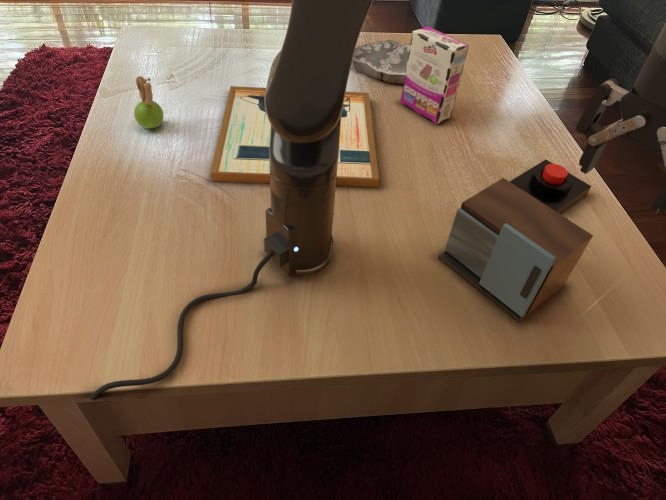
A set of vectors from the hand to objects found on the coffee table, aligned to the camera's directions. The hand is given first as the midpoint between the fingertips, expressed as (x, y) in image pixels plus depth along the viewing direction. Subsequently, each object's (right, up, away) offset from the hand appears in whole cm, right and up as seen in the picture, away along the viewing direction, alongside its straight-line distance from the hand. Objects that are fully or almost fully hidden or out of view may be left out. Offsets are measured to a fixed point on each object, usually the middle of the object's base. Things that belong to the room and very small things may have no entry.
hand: (620, 189), depth 60 cm
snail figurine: (-69, +17, +45) cm, 84 cm away
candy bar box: (-12, +24, +56) cm, 62 cm away
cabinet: (-5, -10, +25) cm, 27 cm away
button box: (+7, +4, +39) cm, 39 cm away
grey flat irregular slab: (-19, +37, +68) cm, 80 cm away
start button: (+7, +6, +36) cm, 37 cm away
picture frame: (-40, +16, +46) cm, 63 cm away
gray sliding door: (-8, -14, +19) cm, 25 cm away
